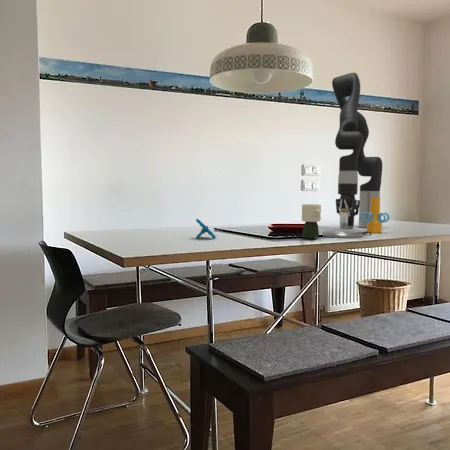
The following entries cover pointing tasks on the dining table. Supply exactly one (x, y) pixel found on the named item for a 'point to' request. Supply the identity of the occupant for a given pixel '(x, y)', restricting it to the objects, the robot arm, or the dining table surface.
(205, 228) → the blue piece
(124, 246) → the dining table surface
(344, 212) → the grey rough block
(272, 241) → the dining table surface
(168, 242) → the dining table surface
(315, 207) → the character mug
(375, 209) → the orange block with rings
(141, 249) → the dining table surface
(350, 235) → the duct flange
